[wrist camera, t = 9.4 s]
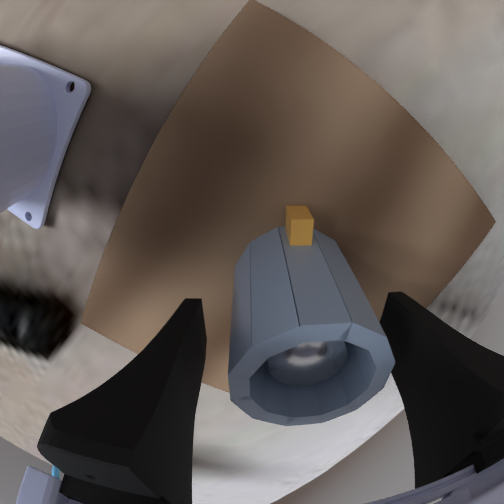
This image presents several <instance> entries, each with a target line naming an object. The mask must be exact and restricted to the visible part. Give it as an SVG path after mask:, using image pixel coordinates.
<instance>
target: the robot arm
mask: <svg viewBox="0 0 504 504" xmlns="http://www.w3.org/2000/svg"><path fill="white" fill-rule="evenodd" d="M73 82H74V84H75V88H74V90H73V91H72V92H71V91H70V86H71V84H72V83H73ZM90 92H91V85H90V83H89V82H88V81H87V80H84V79H82V78H80V77H78V76H76V75H73V74H71V73H69V72H67V71H64V70H62V69H60V68H58V67H55V66H53V65H50V64H48V63H46V62H43V61H41V60H38V59H36V58H33V57H31V56H28V55H26V54H23V53H21V52H18V51H16V50H13V49H10V48H7V47H5V46H2V45H0V213H1V212H3V211H4V210H6V209H8V210H9V211H10V212H12V213H13V214H15V215H16V216H17V217H19V218H20V219H22V220H23V221H24V222H26V223H27V224H29V225H30V226H32V227H33V228H35V229H39V228H41V227H42V226H43V225H44V223H45V220H46V216H47V212H48V208H49V204H50V200H51V197H52V193H53V190H54V186H55V183H56V180H57V176H58V173H59V170H60V167H61V164H62V161H63V158H64V155H65V153H66V150H67V147H68V144H69V142H70V139H71V137H72V134H73V132H74V129H75V127H76V124H77V122H78V119H79V117H80V115H81V112H82V110H83V108H84V106H85V104H86V101H87V99H88V97H89V95H90ZM29 212H30V214H31V216H32V217H31V216H30V214H29ZM379 323H380V325H381V327H382V329H383V331H384V333H385V335H386V337H387V339H388V342H389V345H390V348H391V351H392V354H393V356H394V359H395V364H394V367H393V369H392V371H391V373H392V376H393V378H394V380H395V383H396V385H397V387H398V390H399V392H400V395H401V398H402V401H403V404H404V408H405V412H406V415H407V420H408V424H409V429H410V434H411V440H412V447H413V455H414V468H415V489H414V490H411V491H408V492H405V493H401V494H398V495H395V496H392V497H388V498H385V499H381V500H377V501H373V502H370V503H366V504H427V503H430V502H432V501H435V500H437V499H439V498H442V497H443V498H442V500H441V501H439V502H437V503H435V504H504V356H502V355H500V354H498V353H496V352H493V351H491V350H489V349H487V348H485V347H483V346H481V345H479V344H477V343H476V342H474V341H472V340H471V339H469V338H467V337H466V336H464V335H462V334H461V333H459V332H458V331H456V330H455V329H453V328H452V327H450V326H449V325H447V324H446V323H445V322H443V321H442V320H441V319H439V318H438V317H436V316H435V315H434V314H432V313H431V312H430V311H428V310H427V309H426V308H424V307H423V306H422V305H420V304H419V303H418V302H416V301H415V300H414V299H412V298H411V297H409V296H408V295H406V294H405V293H403V292H401V291H400V292H388V295H387V299H386V302H385V306H384V309H383V312H382V316H381V319H380V322H379ZM206 347H207V335H206V328H205V320H204V313H203V305H202V298H185V299H184V300H183V301H182V303H181V304H180V305H179V307H178V308H177V309H176V311H175V312H174V313H173V315H172V316H171V317H170V319H169V320H168V321H167V322H166V324H165V325H164V326H163V327H162V329H161V330H160V331H159V332H158V333H157V335H156V336H155V337H154V338H153V339H152V340H151V341H150V342H149V343H148V345H147V346H146V347H145V348H144V349H143V350H142V351H141V352H140V353H139V354H138V355H137V356H136V357H135V358H134V359H133V360H132V361H131V362H130V363H128V364H127V365H126V366H125V367H124V368H123V369H122V370H120V371H119V372H118V373H117V374H115V375H114V376H113V377H111V378H110V379H109V380H107V381H106V382H105V383H103V384H102V385H101V386H99V387H98V388H96V389H94V390H93V391H91V392H90V393H88V394H86V395H85V396H83V397H81V398H80V399H78V400H76V401H74V402H72V403H70V404H68V405H66V406H64V407H62V408H60V409H58V410H56V411H53V412H51V413H50V415H49V417H48V420H47V422H46V424H45V427H44V429H43V431H42V434H41V437H40V439H39V442H38V444H37V448H38V450H39V452H40V453H41V454H42V455H43V456H44V457H45V458H46V459H47V460H48V461H49V462H50V463H52V464H53V465H54V466H55V467H57V468H58V469H59V470H60V471H62V472H63V473H64V477H63V481H62V480H60V479H59V478H57V477H55V476H52V475H50V474H48V473H45V472H43V471H41V470H38V469H36V468H34V467H32V466H27V469H26V472H25V475H24V478H23V481H22V484H21V487H20V490H19V494H18V497H17V500H16V504H192V453H193V434H194V420H195V413H196V407H197V402H198V397H199V391H200V386H201V381H202V376H203V371H204V366H205V360H206Z"/></svg>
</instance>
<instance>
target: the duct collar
mask: <svg viewBox="0 0 504 504" xmlns="http://www.w3.org/2000/svg"><path fill="white" fill-rule="evenodd" d="M313 225H314V219H313V217H312V215H311V213H310V211H309V210H308V208H307V206H286V226H285V227H279V228H278V227H277V228H275V229H273V230H271V231H269V232H267V233H265V234H264V235H262V236H260V237H258V238H256V239H254V240H252V241H251V242H250V243H249V244H248V246H247V247H246V249H245V251H244V252H243V254H242V256H241V257H240V259H239V260H238V262H237V264H236V265H235V273H234V287H233V302H232V316H231V331H230V347H229V363H228V382H229V391H230V399H231V401H232V402H233V403H234V404H235V405H237V406H238V407H239V408H240V409H242V410H243V411H244V412H245V413H247V414H248V415H249V416H250V417H252V418H253V419H257V420H261V421H266V422H270V423H274V424H279V425H284V426H292V425H305V424H315V423H322V422H326V421H329V420H331V419H334V418H337V417H339V416H342V415H345V414H347V413H350V412H352V411H355V410H356V409H358V408H359V407H361V406H362V405H363V404H365V403H366V402H367V401H368V400H370V399H371V398H372V397H373V396H375V395H376V394H377V393H378V392H379V391H381V390H382V389H383V388H384V386H385V384H386V382H387V380H388V377H389V375H390V373H391V371H392V369H393V367H394V364H395V359H394V356H393V354H392V351H391V348H390V345H389V342H388V339H387V337H386V335H385V333H384V331H383V329H382V327H381V325H380V323H379V321H378V319H377V317H376V315H375V313H374V311H373V309H372V307H371V305H370V303H369V301H368V299H367V297H366V296H365V294H364V292H363V290H362V288H361V286H360V284H359V282H358V281H357V279H356V277H355V275H354V273H353V271H352V270H351V268H350V266H349V264H348V262H347V261H346V259H345V257H344V255H343V254H342V252H341V250H340V248H339V247H338V245H337V243H336V241H335V240H333V239H331V238H329V237H328V236H326V235H324V234H323V233H321V232H319V231H317V230H316V229H314V228H313ZM337 340H343V341H344V343H345V346H346V349H347V360H346V362H345V364H344V366H343V367H342V368H341V370H340V371H339V372H338V373H337V374H335V375H334V376H332V377H331V378H329V379H327V380H325V381H323V382H320V383H317V384H314V385H308V386H292V385H287V384H284V383H281V382H279V381H277V380H276V379H275V378H274V377H273V376H272V375H271V374H270V372H269V369H268V358H269V357H271V356H274V355H276V354H279V353H281V352H283V351H286V350H288V349H291V348H293V347H295V346H298V345H300V344H302V343H308V342H324V341H337Z"/></svg>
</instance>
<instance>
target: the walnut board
mask: <svg viewBox="0 0 504 504" xmlns="http://www.w3.org/2000/svg"><path fill="white" fill-rule="evenodd" d="M286 206H307V208H308V210H309V211H310V213H311V215H312V217H313V219H314V225H313V228H314V229H316V230H317V231H319V232H321V233H323V234H324V235H326V236H328V237H329V238H331V239H333V240H335V241H336V243H337V245H338V247H339V248H340V250H341V252H342V254H343V255H344V257H345V259H346V261H347V262H348V264H349V266H350V268H351V270H352V271H353V273H354V275H355V277H356V279H357V281H358V282H359V284H360V286H361V288H362V290H363V292H364V294H365V296H366V297H367V299H368V301H369V303H370V305H371V307H372V309H373V311H374V313H375V315H376V317H377V319H378V321H379V322H380V319H381V316H382V312H383V309H384V306H385V302H386V299H387V295H388V292H400V291H401V292H403V293H405V294H406V295H408V296H409V297H411V298H412V299H414V300H415V301H416V302H418V303H419V304H420V305H422V306H423V307H424V308H427V307H428V306H429V304H430V303H431V302H432V301H433V300H434V299H435V298H436V297H437V296H438V295H439V293H440V292H441V291H442V290H443V289H444V288H445V287H446V286H447V284H448V283H449V282H450V281H451V280H452V279H453V277H454V276H455V275H456V274H457V273H458V271H459V270H460V269H461V268H462V266H463V265H464V264H465V263H466V262H467V260H468V259H469V258H470V256H471V255H472V254H473V253H474V251H475V250H476V249H477V247H478V246H479V245H480V243H481V242H482V241H483V239H484V238H485V236H486V235H487V234H488V232H489V231H490V229H491V228H492V227H493V225H494V224H495V222H496V221H495V220H494V218H493V217H492V215H491V214H490V212H489V210H488V209H487V207H486V206H485V204H484V203H483V201H482V200H481V199H480V197H479V196H478V194H477V193H476V191H475V190H474V189H473V187H472V186H471V185H470V183H469V182H468V180H467V179H466V178H465V177H464V175H463V174H462V173H461V171H460V170H459V169H458V167H457V166H456V165H455V164H454V162H453V161H452V160H451V159H450V158H449V156H448V155H447V154H446V153H445V152H444V150H443V149H442V148H441V147H440V146H439V145H438V143H437V142H436V141H435V140H434V139H433V138H432V137H431V136H430V134H429V133H428V132H427V131H426V130H425V129H424V128H423V127H422V126H421V125H420V124H419V123H418V122H417V121H416V120H415V119H414V118H413V117H412V116H411V115H410V114H409V113H408V112H407V111H406V110H405V109H404V108H403V107H402V106H401V105H400V104H399V103H398V102H397V101H396V100H395V99H394V98H393V97H392V96H391V95H390V94H389V93H387V92H386V91H385V90H384V89H383V88H382V87H381V86H380V85H378V84H377V83H376V82H375V81H374V80H373V79H372V78H370V77H369V76H368V75H367V74H366V73H364V72H363V71H362V70H361V69H359V68H358V67H357V66H356V65H354V64H353V63H352V62H351V61H349V60H348V59H347V58H345V57H344V56H343V55H341V54H340V53H339V52H337V51H336V50H335V49H333V48H332V47H330V46H329V45H328V44H326V43H325V42H323V41H322V40H320V39H319V38H318V37H316V36H315V35H313V34H312V33H310V32H308V31H307V30H305V29H304V28H302V27H301V26H299V25H297V24H296V23H294V22H293V21H291V20H289V19H288V18H286V17H284V16H282V15H281V14H279V13H277V12H275V11H274V10H272V9H270V8H268V7H266V6H264V5H263V4H261V3H259V2H257V1H255V0H249V1H248V3H247V4H246V5H245V6H244V7H243V9H242V10H241V11H240V12H239V13H238V15H237V16H236V17H235V18H234V20H233V21H232V22H231V24H230V25H229V26H228V27H227V29H226V30H225V31H224V33H223V34H222V35H221V37H220V38H219V39H218V41H217V42H216V43H215V45H214V46H213V48H212V49H211V50H210V52H209V53H208V55H207V56H206V57H205V59H204V60H203V62H202V63H201V65H200V66H199V68H198V69H197V71H196V72H195V74H194V75H193V77H192V78H191V80H190V81H189V83H188V85H187V86H186V88H185V89H184V91H183V92H182V94H181V96H180V97H179V99H178V101H177V102H176V104H175V106H174V107H173V109H172V111H171V112H170V114H169V116H168V117H167V119H166V121H165V123H164V124H163V126H162V128H161V130H160V132H159V133H158V135H157V137H156V139H155V141H154V143H153V145H152V146H151V148H150V150H149V152H148V154H147V156H146V158H145V160H144V162H143V164H142V166H141V168H140V170H139V172H138V174H137V176H136V178H135V180H134V182H133V184H132V187H131V189H130V191H129V193H128V195H127V198H126V200H125V202H124V204H123V206H122V209H121V211H120V213H119V216H118V218H117V220H116V223H115V225H114V228H113V230H112V233H111V235H110V238H109V240H108V243H107V245H106V248H105V251H104V253H103V256H102V259H101V261H100V264H99V267H98V270H97V273H96V276H95V279H94V281H93V284H92V287H91V291H90V294H89V297H88V300H87V303H86V307H85V310H84V313H83V317H82V320H81V323H82V324H83V325H85V326H87V327H89V328H90V329H92V330H94V331H96V332H97V333H99V334H101V335H103V336H105V337H106V338H108V339H110V340H112V341H114V342H116V343H118V344H120V345H121V346H123V347H125V348H127V349H129V350H131V351H133V352H135V353H137V354H139V353H140V352H141V351H142V350H143V349H144V348H145V347H146V346H147V345H148V343H149V342H150V341H151V340H152V339H153V338H154V337H155V336H156V335H157V333H158V332H159V331H160V330H161V329H162V327H163V326H164V325H165V324H166V322H167V321H168V320H169V319H170V317H171V316H172V315H173V313H174V312H175V311H176V309H177V308H178V307H179V305H180V304H181V303H182V301H183V300H184V299H185V298H202V305H203V313H204V320H205V328H206V335H207V347H206V360H205V366H204V371H203V376H202V381H201V382H202V383H205V384H207V385H210V386H213V387H215V388H218V389H221V390H223V391H226V392H229V393H230V391H229V382H228V363H229V347H230V331H231V316H232V302H233V287H234V273H235V265H236V264H237V262H238V260H239V259H240V257H241V256H242V254H243V252H244V251H245V249H246V247H247V246H248V244H249V243H250V242H251V241H252V240H254V239H256V238H258V237H260V236H262V235H264V234H265V233H267V232H269V231H271V230H273V229H275V228H277V227H278V228H279V227H285V226H286Z"/></svg>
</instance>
